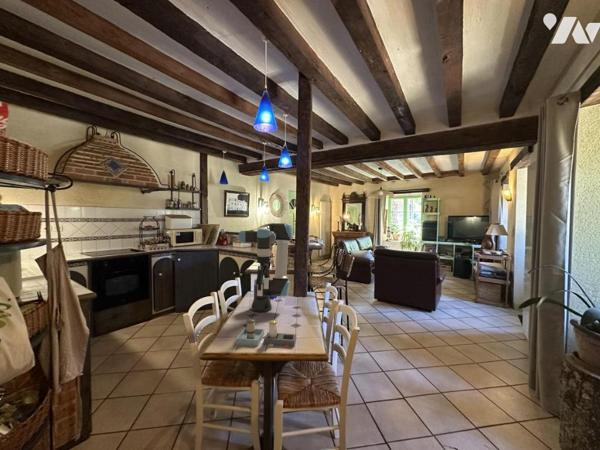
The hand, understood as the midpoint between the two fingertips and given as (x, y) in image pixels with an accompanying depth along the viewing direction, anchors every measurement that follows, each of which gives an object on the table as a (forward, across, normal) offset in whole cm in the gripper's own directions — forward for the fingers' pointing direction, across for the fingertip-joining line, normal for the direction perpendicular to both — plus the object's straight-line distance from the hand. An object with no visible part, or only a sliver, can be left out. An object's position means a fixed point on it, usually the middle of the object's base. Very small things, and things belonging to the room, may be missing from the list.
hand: (263, 292), depth 148 cm
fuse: (+24, +8, +8) cm, 26 cm away
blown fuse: (+24, +7, -5) cm, 26 cm away
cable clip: (+27, -70, -9) cm, 75 cm away
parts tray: (+25, +7, -5) cm, 26 cm away
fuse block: (+25, +8, +12) cm, 29 cm away
